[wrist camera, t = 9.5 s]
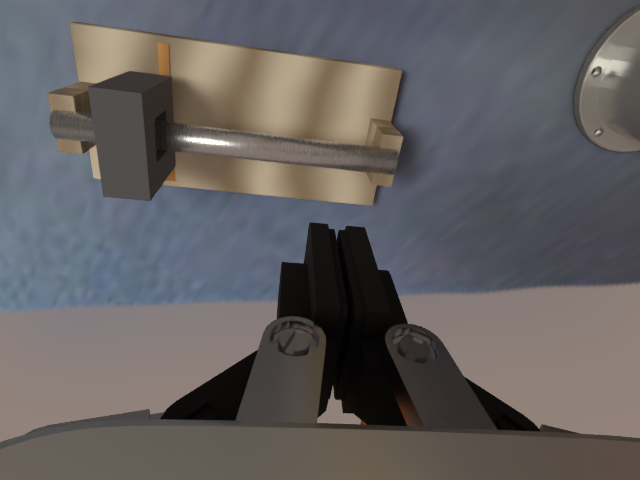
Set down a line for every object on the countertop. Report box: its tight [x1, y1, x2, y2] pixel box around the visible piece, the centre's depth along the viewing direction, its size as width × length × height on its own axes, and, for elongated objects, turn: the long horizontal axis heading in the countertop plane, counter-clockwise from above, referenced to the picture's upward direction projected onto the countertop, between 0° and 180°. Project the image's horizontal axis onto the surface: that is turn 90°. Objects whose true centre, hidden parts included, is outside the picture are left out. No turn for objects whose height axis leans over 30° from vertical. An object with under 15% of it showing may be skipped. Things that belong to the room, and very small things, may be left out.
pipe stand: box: [47, 22, 403, 206], centre depth 32 cm, size 25×12×6 cm, turn 82°
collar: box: [88, 71, 176, 201], centre depth 28 cm, size 3×7×7 cm, turn 172°
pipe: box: [50, 109, 398, 175], centre depth 29 cm, size 24×2×2 cm, turn 82°
